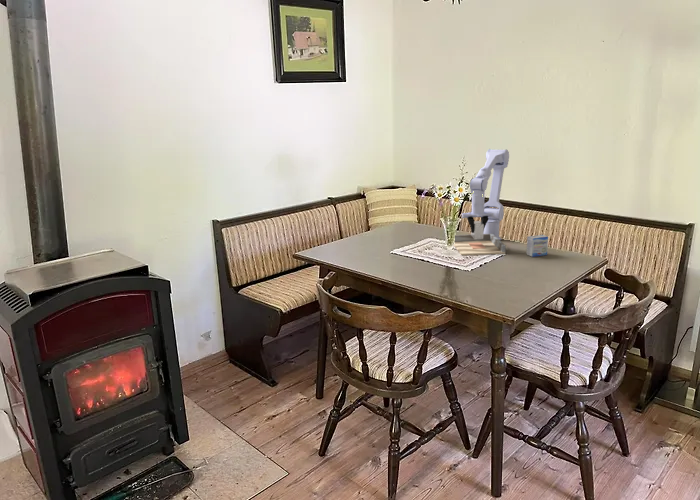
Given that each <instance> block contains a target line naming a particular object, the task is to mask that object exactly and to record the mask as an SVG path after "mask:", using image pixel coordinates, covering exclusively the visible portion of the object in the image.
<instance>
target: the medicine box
mask: <svg viewBox="0 0 700 500" xmlns="http://www.w3.org/2000/svg"><path fill="white" fill-rule="evenodd" d="M526 238H527V239H526V241H527V242H526V255H527V256H529V257H531V258H535V257H543V256H544V257H545V256H547V255H548V246H549V236H548V235H544V234H538V235H530V236H527V237H526Z"/></svg>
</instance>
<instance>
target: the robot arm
mask: <svg viewBox="0 0 700 500" xmlns="http://www.w3.org/2000/svg"><path fill="white" fill-rule="evenodd" d="M485 159H486V161H485V163H484V166H483V167H481V168H480V169H478V170H479V171H478V172H477V174H475V175H476V176H475V177H473V178H471V180H470V182H469V190H470V194H471V193H473V191H474V193H473V194H471V211H469V212H462V213H461V218H462V219H465V218H466V220H467V221H468V224H469V227H470V232H472V233H474V221H475V219H474V218H480V221H481V222H482V223H483V224H484V231H483V234H494V235H495V236H496V237H497V238H498V239H499V240H500V241H501V240H502V238H501V237H500V222H501V221H502V220H503V218H504V216H505V215H504V214H505V213H504V209H505V208H504V205H503V204H502V203H501V202H500V197H501V190H502V183H503V178H504V172H505V169H506V168H508V165H509V162H510V161H509V159H510V151H508V149H495V148H494V149H491V148H489V149H487V151H486V152H485ZM492 169H493V172H492ZM491 176H492V178H491V183H490V184H491V185H490V192H489V197H488V198H489V199H488V201H487V202H485V198H486V197H485V196H486V195H485V192H486V190H487V187H488V184H489V183H488V182H489V180H490V177H491ZM482 194H483V197H482Z"/></svg>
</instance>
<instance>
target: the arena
mask: <svg viewBox="0 0 700 500" xmlns="http://www.w3.org/2000/svg"><path fill="white" fill-rule="evenodd" d="M454 235H455V234H454ZM453 246H454V248H455V249H456V251H457V252H458V253H459V254H460V256H461V255H463V256H482V255H483V256H484V255H485V256H486V255H503V254H506V246H507V245H506V244H504V243H503V242H502V241H501V240H499V239H498V238H497V237H496V236H495V235H494V234H483V239H474V238H473V237H472V236H471V233H470V234H456V235H455V244H454V245H453Z"/></svg>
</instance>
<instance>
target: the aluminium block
mask: <svg viewBox="0 0 700 500" xmlns="http://www.w3.org/2000/svg"><path fill="white" fill-rule="evenodd" d="M483 231H484V224H483V223H482V222H481V220H474V233H472V232H471V231H470V232H471V233H470V234H471V236H472V237H473V238H474V239H483Z"/></svg>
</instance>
